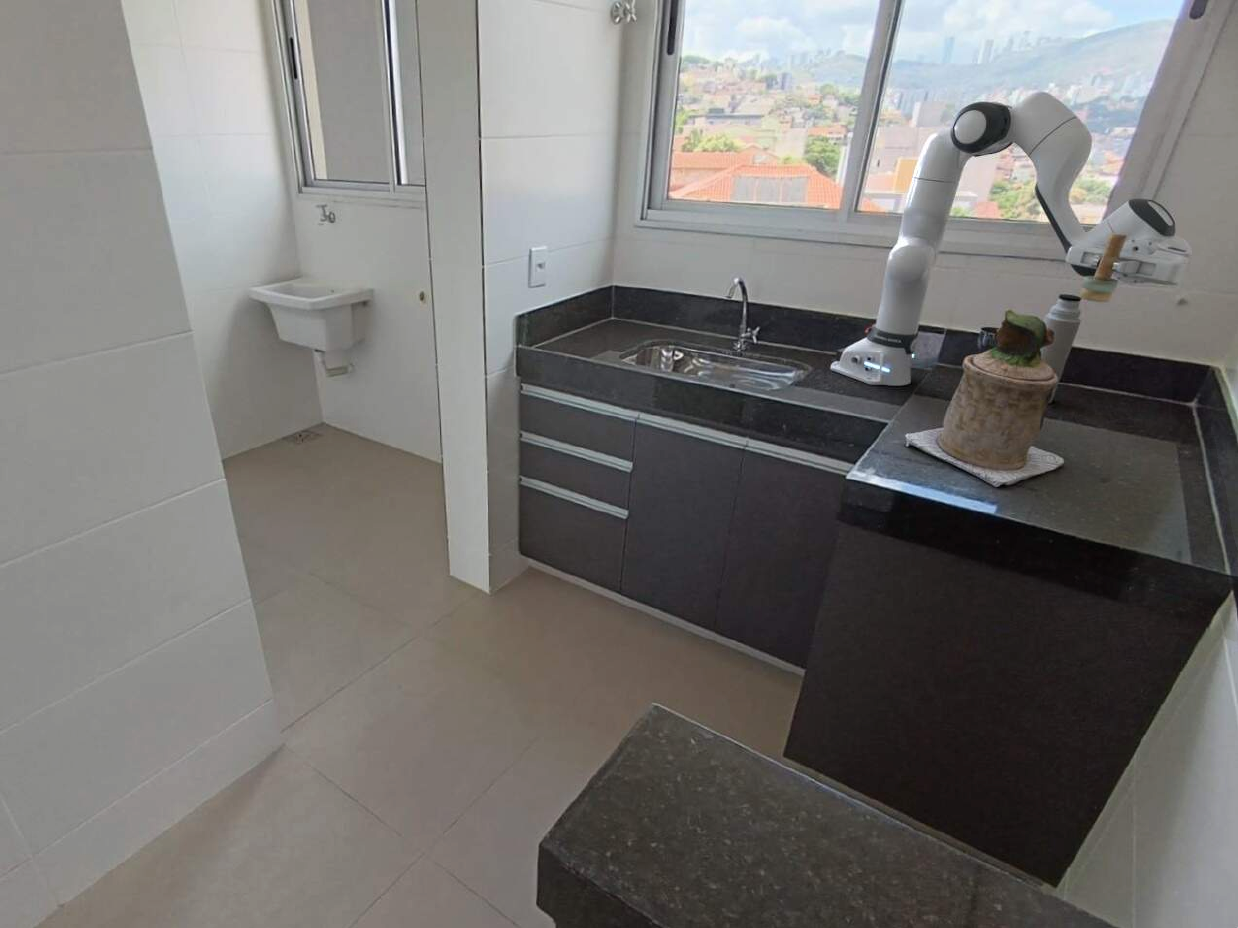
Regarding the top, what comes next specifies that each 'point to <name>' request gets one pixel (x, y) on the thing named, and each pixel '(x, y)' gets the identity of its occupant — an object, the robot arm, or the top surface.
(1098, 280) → the brush
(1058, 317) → the thermos bottle
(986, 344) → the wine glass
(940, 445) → the cookie jar
